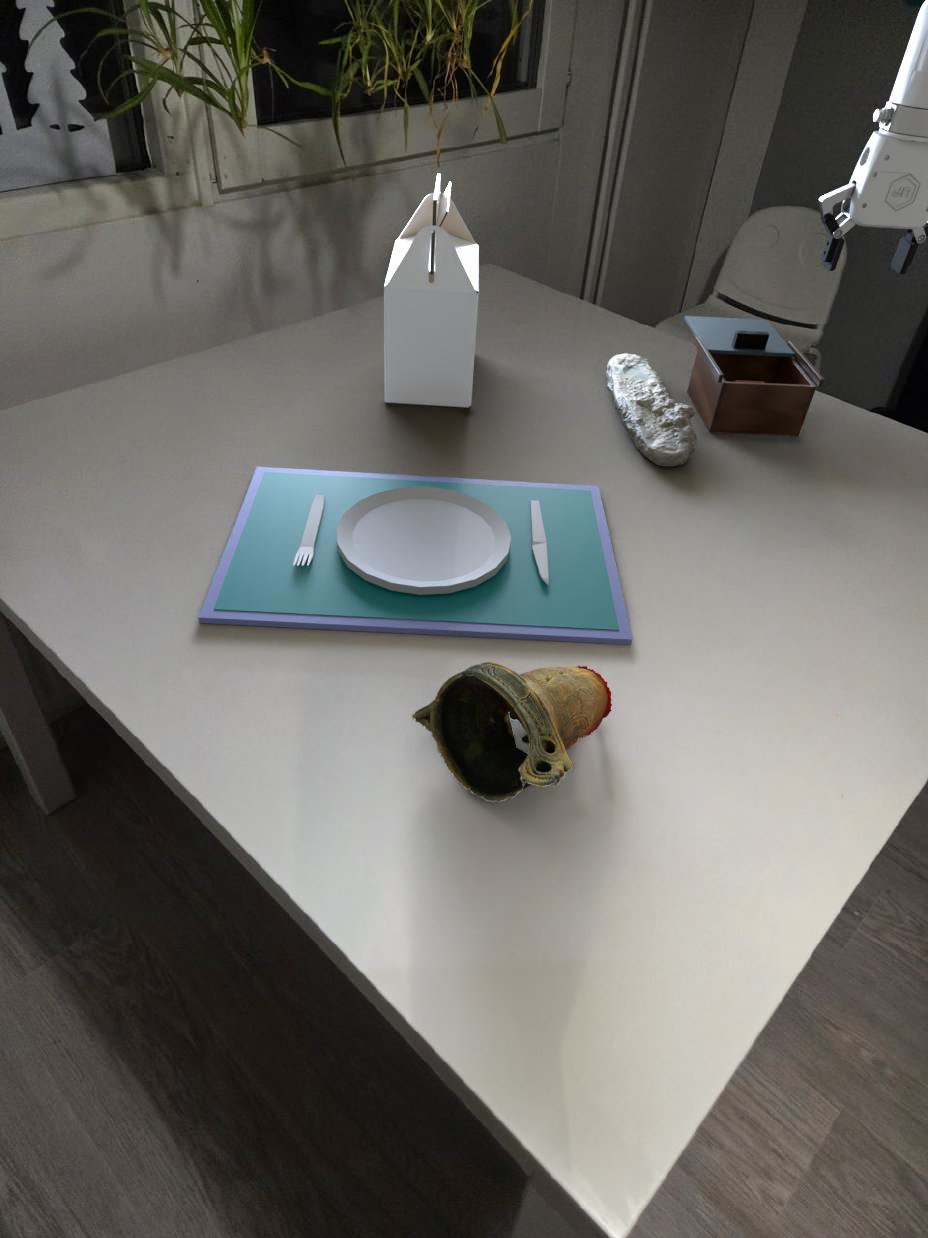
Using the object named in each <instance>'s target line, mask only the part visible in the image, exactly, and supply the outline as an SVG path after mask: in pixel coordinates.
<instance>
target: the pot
mask: <svg viewBox="0 0 928 1238" xmlns="http://www.w3.org/2000/svg"><path fill="white" fill-rule="evenodd" d="M612 706H613V704H612V691H611V689H610V686H608V681H606V680H605V678H603V676H602V675H601V674H600V673H599V672H596V670H594V669H591V668H588V666H587V665H578V666H572V665H570V666H569V665H566V666H564V665H563V666H549V667H540V668H536V669H532V670H530V671H526V672H523V673H520V674H519V673H518V672H516V671H515V670H514V669H511V668H509V667H507V666H505V665H502V664H499V663H496V662H490V661H489V662H488V661H487V662H481V663H480V664H479V663H478V664H474V665H471V666H469V667H467V668H466V669H465V670H462V671H461V672H458V673H456V674H453V675H452V676H451V677H449V678H448V679H447V680H445V681H444V682H443V684H442V685H441V686H440V688H439V689H438V691H437V693H436V696H435V698H434V699H433V700H432V701H431V702H430V703H429V704H427V705H425V706H423V707H421V708H419V709H417V710H415V712H414V713H413V714H412V715H411V719H412V720H415V723H419V724H420V725H421V726H422V727H424V729H425V730H427V731H428V732H431V734H432V735H431V737H432V738H433V739H434V741H435V743H436V750H437V751H438V753H439V754H440V758H443V763H444V764H445V765H446V767H447V770H448V771H449V772H450V774H451V775H452V777H453V779H455V780H456V782H457V783H458V784H459V785H460V784H461V787H462V788H464V790H466V791H469V792H470V793H471V794H472V795H475V797H477V798H479V799H484V801H485V802H492V803H493V804H494V803H495V802H498V803H500V802H506V801H507V800H508V799H511V800H514V798H516V796H517V795H519V793H520V792H523V790H525V789H527V788H529V787H530V786H536V787H543V788H544V787H550V786H552V785H555V786H559V785H560V783H561V780H563V779H564V777H565V775H566V773H569V771H570V772H572V770H573V768H574V766H573V765H574V764H573V762H572V760H571V759H570V757H569V756H568V753H567V750H569V749H570V748H571V747H573V746H574V745H576V743H577V742H578V741H579V739H583V738H586V737H589V736H591V735H592V733H594V732H595V731H596V730H598V729H599V727H600V725H601V723H602V721H603V720H604V719H606V718H607V717H608V716H609V715H610V713H611V712H612ZM512 720H513V721H518V722H519V724H520V725H521V727H522V729H523V730H524V731H525V735H524V736H522V737H521V739H520V741H521V742H522V743H523V744H526V745H527V744H528V751H527V752H526V751H525V750H523V749H521V748H519V747H518V746H517V742H516V737H515V734H514V730H513V726H512V722H511V721H512Z"/></svg>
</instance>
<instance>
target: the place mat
mask: <svg viewBox="0 0 928 1238" xmlns="http://www.w3.org/2000/svg"><path fill="white" fill-rule="evenodd" d="M211 581H212V582H211V584H210V585H209V589H208V592H207V594H206V596H205V599H204V602H203V604H202V607H201V609H200V612H199V615H198V623H199V624H210V625H211V624H212V625H213V624H214V625H233V626H249V627H250V626H253V627H254V626H255V627H272V628H274V627H275V628H289V629H291V628H293V629H311V630H313V629H314V630H332V631H350V632H351V631H352V632H372V633H387V634H388V633H390V634H410V635H411V634H412V635H428V636H429V635H430V636H449V637H450V636H451V637H467V638H469V637H471V638H490V639H507V640H508V639H511V640H527V641H547V642H548V641H549V642H567V643H568V642H569V643H586V644H587V643H588V644H606V645H607V644H608V645H625V646H627V645H629V646H631V645H632V643H633V640H634V639H633V636H632V635H633V634H632V630H631V626H630V620H629V617H628V612H627V608H626V603H625V600H624V595H623V590H622V586H621V581H620V575H619V573H618V567H617V563H616V559H615V554H614V549H613V545H612V541H611V536H610V531H609V527H608V522H607V517H606V514H605V509H604V505H603V501H602V495H601V491H600V487H599V485H585V484H566V483H551V482H530V481H517V480H515V481H514V480H499V479H497V480H495V479H480V478H479V479H478V478H463V477H461V478H460V477H446V476H444V477H443V476H427V475H413V474H411V475H410V474H407V475H405V474H393V473H377V472H375V473H373V472H359V471H341V470H321V469H305V468H304V469H303V468H288V467H287V468H286V467H285V468H284V467H269V466H256V468H255V470H254V473H253V476H252V478H251V481H250V484H249V486H248V489H247V491H246V494H245V496H244V499H243V501H242V505H241V506H240V509H239V512H238V514H237V516H236V519H235V522H234V525H233V527H232V530H231V533H230V535H229V537H228V540H227V543H226V544H225V548H224V550H223V553H222V556H221V558H220V561H219V563H218V566H217V568H216V571H215V574H214V576H213V579H212V580H211Z"/></svg>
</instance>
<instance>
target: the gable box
mask: <svg viewBox="0 0 928 1238" xmlns="http://www.w3.org/2000/svg"><path fill="white" fill-rule="evenodd" d="M435 180H436V181H435V187H434V192H431V193H429V194H426V196H425V197H424V198H423V200H422V201H421V203H420V204H419V206H418V207H417V209H416V210H415V211H414V213H413V215H412V217H410V220H409V221H408V223H407V224H406V226H405V227H404V229H403V230H402V232H401V233H400V235H399V236H398V238H397V239H396V240H395V242H394V245H393V250H392V253H391V258H390V262H389V265H388V270H387V272H386V273H387V274H386V277H385V281H384V285H383V355H384V356H383V357H384V358H383V359H384V361H383V364H384V367H383V368H384V369H383V370H384V371H383V375H384V379H383V381H384V382H383V383H384V384H383V385H384V387H383V389H384V393H383V394H384V396H383V397H384V403H386V404H400V405H401V404H403V405H417V406H432V407H433V406H435V407H449V408H450V407H452V408H465V409H466V408H467V409H469V408H471V406H472V397H473V384H474V369H475V357H476V355H475V354H476V340H477V329H478V328H477V327H478V311H479V299H480V298H479V296H480V255H479V254H480V245H479V244H477V242H476V240H475V239H474V236H473V235H472V233H471V231H470V230H469V227H468V225H467V224H466V222H465V220H464V218H463V216H462V215H461V213H460V211H459V209H458V207H457V205H456V203H455V201H454V200H453V198H452V196H451V191H452V189H451V188H452V182H451V181H449V182H448V185H447V187H446V188H445V191H444V192H441V183H442V182H441V181H442V174H441V173H437V174H436V179H435Z"/></svg>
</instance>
